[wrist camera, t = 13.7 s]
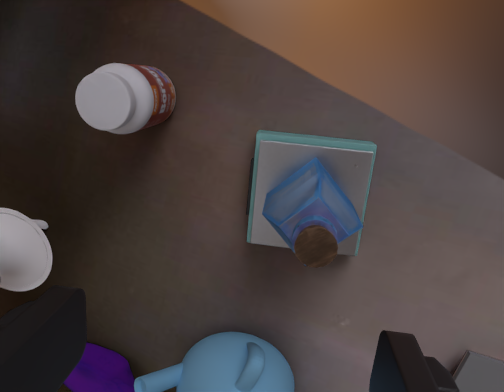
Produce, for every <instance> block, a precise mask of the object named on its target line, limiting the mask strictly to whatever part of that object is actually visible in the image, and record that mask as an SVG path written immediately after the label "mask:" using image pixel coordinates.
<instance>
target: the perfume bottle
mask: <svg viewBox="0 0 504 392" xmlns="http://www.w3.org/2000/svg"><path fill="white" fill-rule="evenodd" d="M262 215H263V216H264V217H265V218H266V220H267V221H268V222H269V223H270V224H271V226H272V227H273V228H274V229H275V230H276V232H277V233H278V234H279V235H280V236H281V238H282V239H283V240H284V241H285V242H286V244H287V245H288V246H289V247H290V248H291V250H292V251H293V252H294V253H295V255H296V256H297V258H298V260H299V261H301V262H302V263H303V264H304V265H305V266H306V265H307V266H309V267H315V268H317V267H323V266H325V265H327V264H329V263H330V262H331V261H333V260H334V258H335V256H336V255H337V251H338V244H339V243H340V242H342V241H343V240H345V239H346V238H348V237H349V236H351V235H352V234H354V233H355V232H357V231H358V230H360V229H361V228H363V225H362V223H361V221H360V219H359V216H358V214H357V212H356V210H355V208H354V206H353V204H352V203H351V202H350V200H349V199H348V198H347V196H346V195H345V194H344V193H343V191H342V190H341V189H340V187H339V186H338V185H337V184H336V182H335V181H334V180H333V178H332V177H331V176H330V175H329V173H328V172H327V171H326V169H325V168H324V167H323V166H322V164H321V163H320V162H319V160H318V159H317V158H316V157H315V158H314V159H313V160H311V161H310V162H309V163H307V164H306V165H305V166H303V167H302V168H301V169H299V170H298V171H297V172H295V173H294V174H293V175H291V176H290V177H289V178H287V179H286V180H285V181H283V182H282V183H281V184H279V185H278V186H277V187H275V188H274V189H273V190H271V191H270V192H269V193H267V194H266V198H265V203H264V207H263V212H262Z"/></svg>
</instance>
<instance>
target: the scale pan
mask: <svg viewBox="0 0 504 392" xmlns="http://www.w3.org/2000/svg"><path fill="white" fill-rule="evenodd" d="M315 157H316V158H317V159H318V160H319V162H320V163H321V164H322V166H323V167H324V168H325V169H326V171H327V172H328V173H329V175H330V176H331V177H332V178H333V180H334V181H335V182H336V184H337V185H338V186H339V187H340V189H341V190H342V191H343V193H344V194H345V195H346V196H347V198H348V199H349V200H350V202H351V203H352V204H353V206H354V208H355V210H356V212H357V214H358V216H359V219H360V221H361V219H362V214H363V208H364V203H365V197H366V192H367V186H368V181H369V175H370V170H371V164H372V158H373V152H372V151H365V150H355V149H346V148H336V147H327V146H317V145H308V144H299V143H289V142H280V141H270V140H260V147H259V158H258V168H257V178H256V189H255V199H254V209H253V220H252V230H251V240H250V243H253V244H261V245H269V246H277V247H285V248H290V247H289V246H288V245H287V244H286V242H285V241H284V240H283V239H282V238H281V236H280V235H279V234H278V233H277V232H276V230H275V229H274V228H273V227H272V226H271V224H270V223H269V222H268V221H267V220H266V218H265V217H264V216H263V215H262V212H263V207H264V203H265V198H266V194H267V193H269V192H270V191H271V190H273V189H274V188H275V187H277V186H278V185H279V184H281V183H282V182H283V181H285V180H286V179H287V178H289V177H290V176H291V175H293V174H294V173H295V172H297V171H298V170H299V169H301V168H302V167H303V166H305V165H306V164H307V163H309V162H310V161H311V160H313V159H314V158H315ZM358 236H359V230H358V231H357V232H355V233H354V234H352V235H351V236H349V237H348V238H346V239H345V240H343V241H342V242H340V243H339V244H338V251H337V254H342V255H350V256H355V252H356V247H357V241H358Z"/></svg>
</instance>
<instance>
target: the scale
mask: <svg viewBox="0 0 504 392" xmlns="http://www.w3.org/2000/svg"><path fill="white" fill-rule="evenodd" d="M260 140H270V141H280V142H289V143H299V144H308V145H317V146H327V147H336V148H346V149H355V150H365V151H372V152H373V158H372V164H371V170H370V175H369V181H368V186H367V192H366V197H365V203H364V208H363V214H362V219H361V223H362V225H363V220H364V215H365V209H366V204H367V198H368V193H369V187H370V182H371V176H372V171H373V165H374V160H375V154H376V149H377V145H376V144H374V143H373V142H371V141H361V140H352V139H342V138H332V137H323V136H313V135H304V134H294V133H285V132H275V131H265V130H259V131H258V132H257V136H256V146H255V157H254V158H252V160H251V168H250V179H249V190H248V201H247V211H246V214H247V215H249V221H248V231H247V242H250V240H251V230H252V220H253V209H254V199H255V189H256V178H257V168H258V158H259V147H260ZM361 231H362V228H361V229H360V230H359V236H358V241H357V247H356V252H355V256H357V253H358V248H359V242H360V237H361Z"/></svg>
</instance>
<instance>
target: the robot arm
mask: <svg viewBox="0 0 504 392" xmlns="http://www.w3.org/2000/svg"><path fill="white" fill-rule="evenodd" d="M86 342H87V326H86V297H85V292H84V290H83V289H80V288H72V287H65V286H57V285H54V286H52V287H50V288H49V289H48V290H47V291H46V292H45V293H43V294H42V295H41V296H40V297H39V298H38V299H37V300H35V301H29V302H27V303H25V304H22V305H20V306H18V307H16V308H14V309H12V310H10V311H9V312H7V313H6V314H5V315H4V316H3V317H1V318H0V392H57V391H58V389H59V388H60V387H61V385H62V384H63V383H64V381H65V380H66V379H67V377H68V376H69V375H70V373H71V372H72V371H73V369H74V368H75V367H76V365H77V364H78V363H79V361H80V360H81V358H82V356H83V353H84V350H85V347H86ZM459 391H460V390H459V389H458V387H457V385H456V383H455V381H454V379H453V377H452V375H451V373H450V372H449V371H448V370H446V369H445V368H444V367H443V366H442V365H441V364H440V363H439V362H438V361H437V360H436V359H435V358H433V357H426V356H424V355H423V353H422V351H421V349H420V347H419V345H418V343H417V340H416V338H415V336H414V335H413V334H407V333H400V332H392V331H385V330H383V331H382V332H381V334H380V336H379V341H378V345H377V350H376V355H375V359H374V364H373V369H372V373H371V378H370V387H369V392H459Z"/></svg>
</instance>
